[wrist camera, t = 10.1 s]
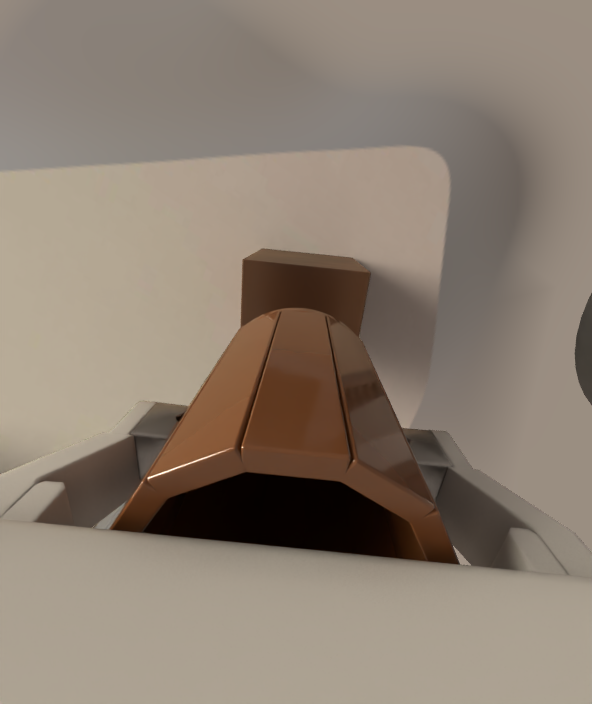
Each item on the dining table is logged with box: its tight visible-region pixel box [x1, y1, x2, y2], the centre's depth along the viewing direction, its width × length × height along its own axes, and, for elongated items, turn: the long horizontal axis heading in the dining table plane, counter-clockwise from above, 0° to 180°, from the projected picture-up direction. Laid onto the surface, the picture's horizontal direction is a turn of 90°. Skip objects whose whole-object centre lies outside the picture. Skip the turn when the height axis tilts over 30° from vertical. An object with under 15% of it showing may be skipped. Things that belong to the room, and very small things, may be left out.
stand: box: [241, 249, 371, 337], centre depth 23 cm, size 7×7×8 cm
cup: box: [108, 308, 460, 565], centre depth 9 cm, size 6×6×8 cm
